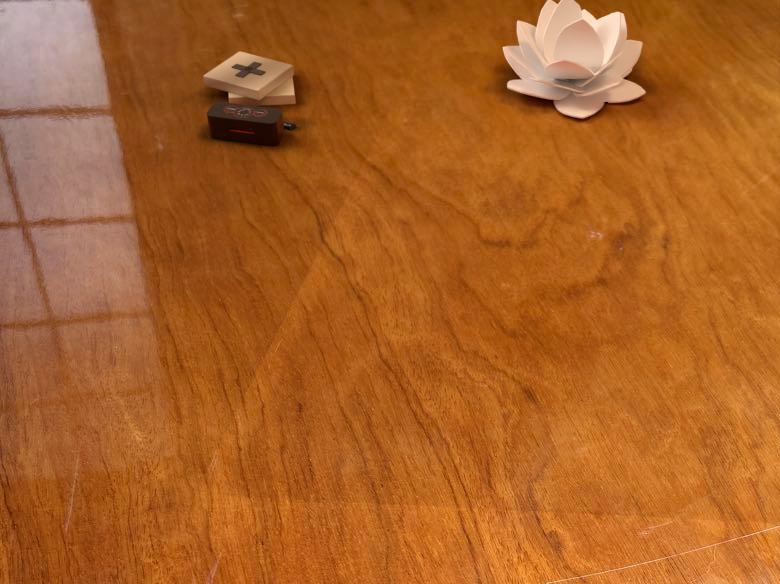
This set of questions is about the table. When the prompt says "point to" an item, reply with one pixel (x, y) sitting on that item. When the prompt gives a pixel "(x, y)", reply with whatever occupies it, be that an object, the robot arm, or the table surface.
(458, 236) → the table surface
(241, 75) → the tile pile
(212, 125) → the brown electronic gadget
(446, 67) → the table surface
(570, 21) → the lotus flower
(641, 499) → the table surface
